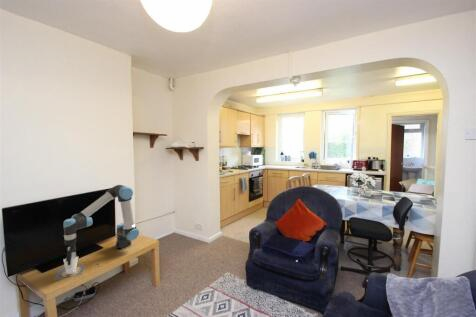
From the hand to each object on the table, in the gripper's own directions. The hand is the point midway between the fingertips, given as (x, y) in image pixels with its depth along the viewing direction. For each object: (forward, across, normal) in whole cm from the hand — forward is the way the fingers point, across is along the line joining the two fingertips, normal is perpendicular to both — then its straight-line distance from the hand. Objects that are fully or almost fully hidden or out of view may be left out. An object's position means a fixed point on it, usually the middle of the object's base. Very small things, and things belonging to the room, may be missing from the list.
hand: (72, 263), depth 180 cm
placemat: (+7, -1, -2) cm, 7 cm away
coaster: (+7, 0, 0) cm, 7 cm away
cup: (+6, +4, 0) cm, 7 cm away
